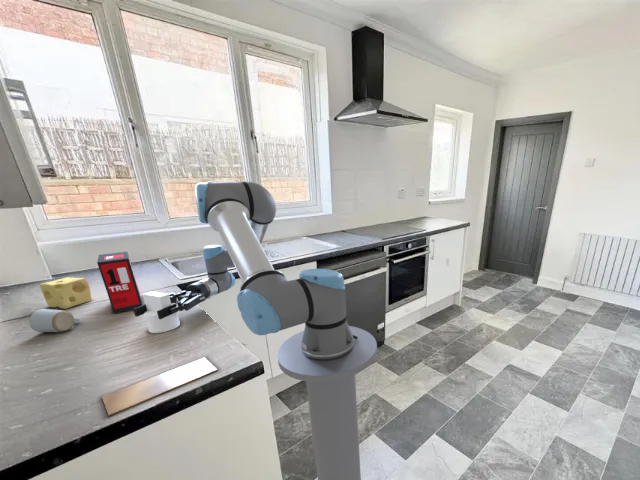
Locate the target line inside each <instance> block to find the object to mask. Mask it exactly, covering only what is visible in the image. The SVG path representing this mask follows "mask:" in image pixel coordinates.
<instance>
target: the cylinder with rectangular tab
mask: <svg viewBox="0 0 640 480" xmlns="http://www.w3.org/2000/svg"><path fill="white" fill-rule="evenodd" d="M169 294H170V293H165V292H159V291H154V290H150V291H146V292H144V293H142V297H143V301H144V304H146V307H147V311H146V312H145V313H144V314H143V317H144V320H145V324H146V327H147V330H148V332H149V333H151V334H159V333H166V332H168V331H169V332H170V331H171V330H174V329H176V328H178V327H179V326H180V325H181V321H180V317H179V313H178V312H176V313H173V314H171V315H169V316H167V317H165V318H163V319H159V317H158V314H157V311H159V310H161V309H163V308H166V307H168V306H170V305H172V304H171V301H170V297H169Z"/></svg>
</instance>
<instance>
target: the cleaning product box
mask: <svg viewBox="0 0 640 480" xmlns="http://www.w3.org/2000/svg"><path fill="white" fill-rule="evenodd" d="M96 263H97V266H98V270H99V273H100V276H101V279H102V282H103V285H104V287H105V291H106V293H107V297H108V299H109V302H110V305H111V309H112V311H113V314H118V313H123V312H128V311H134V310H133V309H134V308H137V307H139V306H142V305H143V301H142V296H141V293H140V290H139V286H138V282H137V279H136V276H135V273H134V270H133V266H132V263H131V259H130V256H129V253H128V251H121V252H120V251H119V252H112V253H103V254H98V257H97V261H96Z"/></svg>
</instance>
